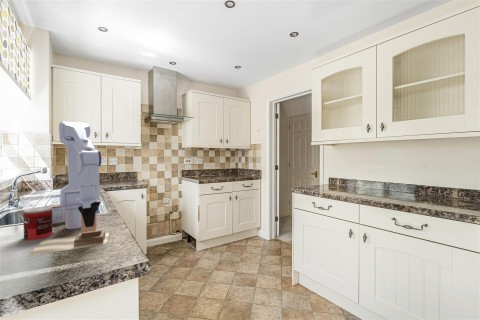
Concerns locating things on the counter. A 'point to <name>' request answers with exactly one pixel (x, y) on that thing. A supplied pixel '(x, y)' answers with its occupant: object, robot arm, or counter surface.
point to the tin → (57, 214)
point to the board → (71, 242)
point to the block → (88, 229)
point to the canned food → (37, 223)
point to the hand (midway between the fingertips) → (90, 224)
